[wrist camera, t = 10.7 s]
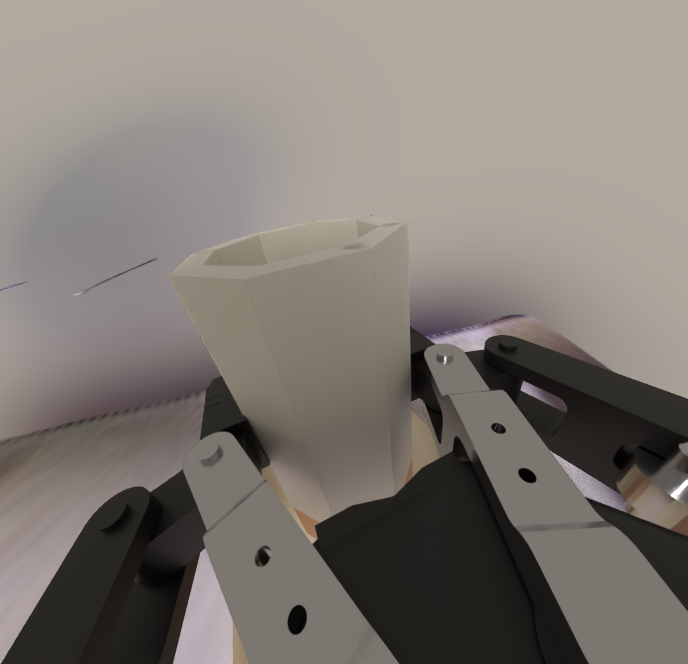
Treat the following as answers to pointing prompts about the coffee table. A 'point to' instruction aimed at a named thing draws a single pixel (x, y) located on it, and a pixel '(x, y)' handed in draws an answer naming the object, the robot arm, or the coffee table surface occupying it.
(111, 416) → the coffee table surface
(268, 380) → the sleeve
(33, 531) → the coffee table surface
